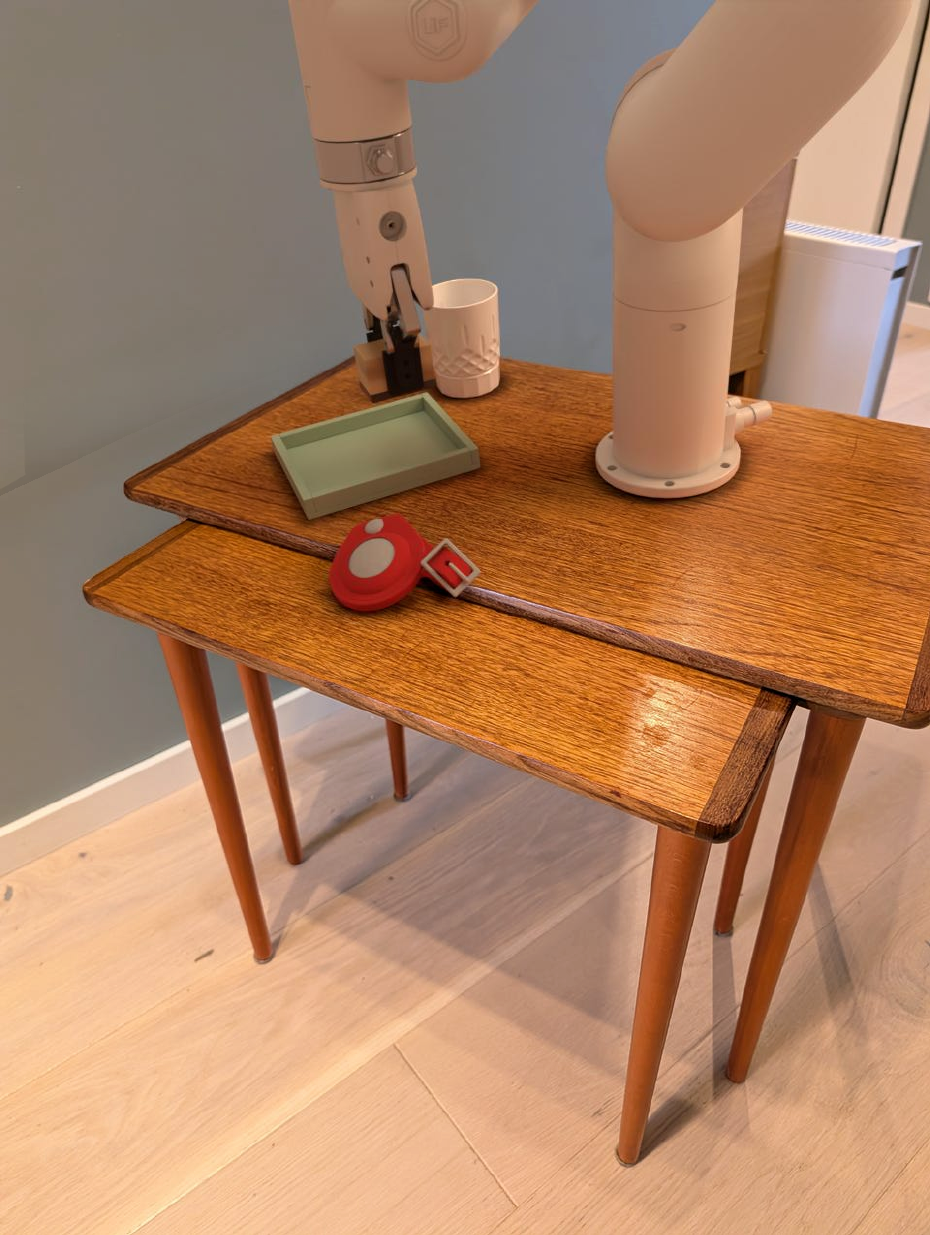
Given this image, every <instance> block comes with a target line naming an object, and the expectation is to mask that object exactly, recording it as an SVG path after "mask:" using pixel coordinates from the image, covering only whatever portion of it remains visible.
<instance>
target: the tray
mask: <svg viewBox="0 0 930 1235" xmlns="http://www.w3.org/2000/svg"><path fill="white" fill-rule="evenodd" d="M270 441H271V444H272V448H273V451H274V454H275V457H276V459H277V461H278V462H279V465H280V466H281V467H280V468H282V471H283V472H284V474H285V477H286V478H287V480H288V482H289V484H290V486H291V488H292V490H293V492H294V494H295V496H296V497H297V500H298V502H299V504H300V506H301V508H302V510H303V512H304V514H305V516H306V518H307V520H308V521H311V520H314V519H317V518H320V517H323V516H327V515H331V514H333V513H337V512H340V511H343V510H346V509H350V508H353V507H357V506H361V505H363V504H366V503H369V502H372V501H377V500H379V499H383V498H386V497H389V496H393V495H396V494H399V493H402V492H405V491H410V490H413V489H416V488H419V487H422V486H425V485H429V484H431V483H435V482H438V481H441V480H445V479H448V478H451V477H454V476H455V477H456V476H458V475H461V474H465V473H468V472H471V471H475V470H478V469H481V460H480V451H479V447H478V446H477V445H476V444H475V443H474V441H473V440H472V439H470V437H469V436H468V435H467V434H466V433H465V432H464V431H463V430H462V429H461V428H460V426H459V425H458V424H457V423H456V422H455V421H454V420H453V419H452V417H450V415H449V414H448V413H447V411H445V410H444V408H443V407H441V405H440V404H439V403H438V402H437V401H436V400H435V399H434V398H433V397H432V396H431V395H430V393H429V392H427V391H426V392H423V393H419V394H415V395H412V396H409V397H404V398H401V399H398V400H394V401H391V402H387V403H383V404H380V405H376V406H373V407H369V408H367V409H363V410H359V411H356V412H355V411H354V412H352V413H348V414H344V415H340V416H337V417H333V418H331V419H327V420H323V421H320V422H316V423H312V424H308V425H305V426H301V427H297V428H295V429H291V430H288V431H283V432H281V433H276V434H272V435H270Z"/></svg>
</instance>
